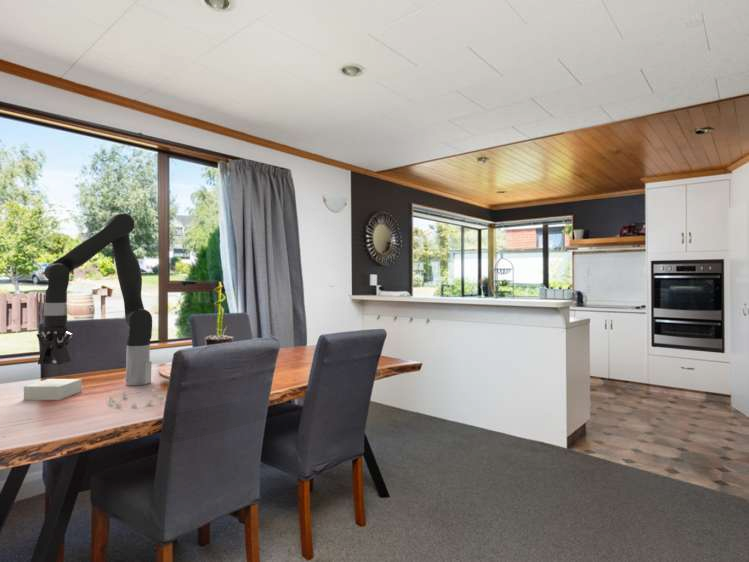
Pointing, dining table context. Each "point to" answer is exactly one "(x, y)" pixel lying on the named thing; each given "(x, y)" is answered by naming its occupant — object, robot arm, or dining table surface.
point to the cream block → (52, 389)
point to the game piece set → (132, 403)
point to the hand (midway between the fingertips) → (54, 357)
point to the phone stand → (59, 353)
